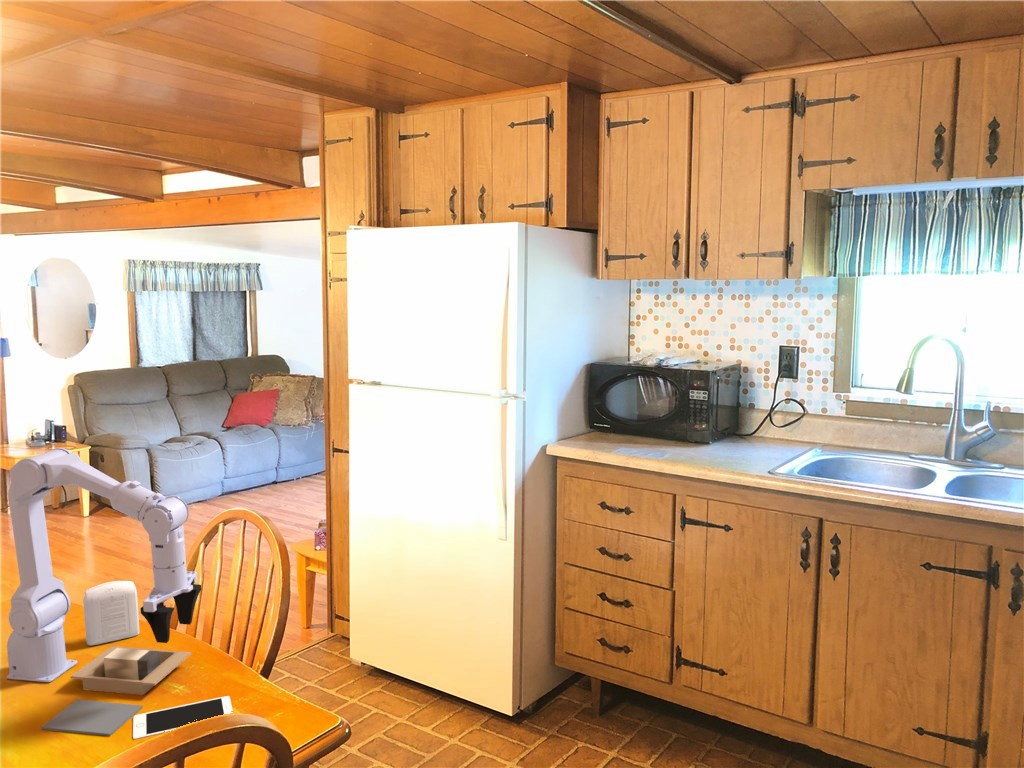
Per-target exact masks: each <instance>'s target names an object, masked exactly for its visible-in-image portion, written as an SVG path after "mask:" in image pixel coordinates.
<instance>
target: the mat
mask: <svg viewBox="0 0 1024 768" xmlns="http://www.w3.org/2000/svg"><path fill="white" fill-rule="evenodd" d="M142 708H143V705H140V704H133V703H132V704H131V703H122V702H121V703H120V702H119V703H118V702H108V701H97V700H88V699H87V700H86V699H76V700H74V701H73V702H72V703H71V704H69V705H67V706H66V707H64V709H63V710H61V711H60V712H58V713H57V714H56V715H55V716H53V717H52V718H51V719H50V720H48V721H47V722H46V723H44V724H43V725H42V726H40V730H44V731H55V732H65V733H66V732H67V733H75V734H87V735H96V736H97V735H98V736H106V737H107V736H108V737H111V736H112V735H113V734H114V733H115V732H117V731H118V730H119V729H120V728H121V727H123V725H124V724H125V723H127V722H128V721H129V720H130V719H132V718H133V717H134V716H135V715H137V713H138V712H139V711H140V710H141V709H142Z"/></svg>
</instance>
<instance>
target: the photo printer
mask: <svg viewBox="0 0 1024 768" xmlns="http://www.w3.org/2000/svg"><path fill="white" fill-rule="evenodd" d="M82 602H83V612H84V613H83V615H84V626H85V627H84V628H85V629H84V630H85V640H86V645H88V646H96V645H101V644H105V643H109V642H114V641H119V640H122V639H127V638H133V637H136V636H138V635H139V634H140V620H139V605H138V591H137V588H136V586H135V583H134V581H131V580H130V581H129V580H116V581H115V580H114V581H108V582H104V583H101V584H98V585H94V586H92V587H90V588H88V589H86V590H85V591H84V596H83V601H82Z"/></svg>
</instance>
